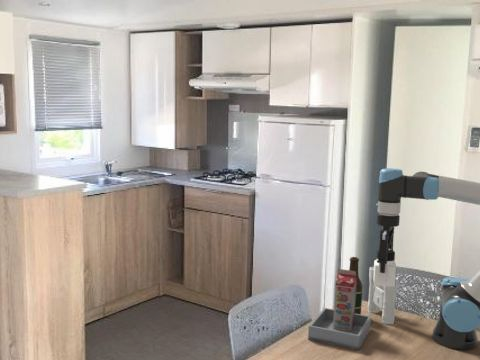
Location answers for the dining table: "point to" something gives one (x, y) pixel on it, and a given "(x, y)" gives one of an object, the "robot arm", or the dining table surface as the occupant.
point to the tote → (325, 333)
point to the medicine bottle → (390, 270)
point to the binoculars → (382, 299)
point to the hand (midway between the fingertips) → (384, 277)
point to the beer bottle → (358, 301)
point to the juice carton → (345, 300)
